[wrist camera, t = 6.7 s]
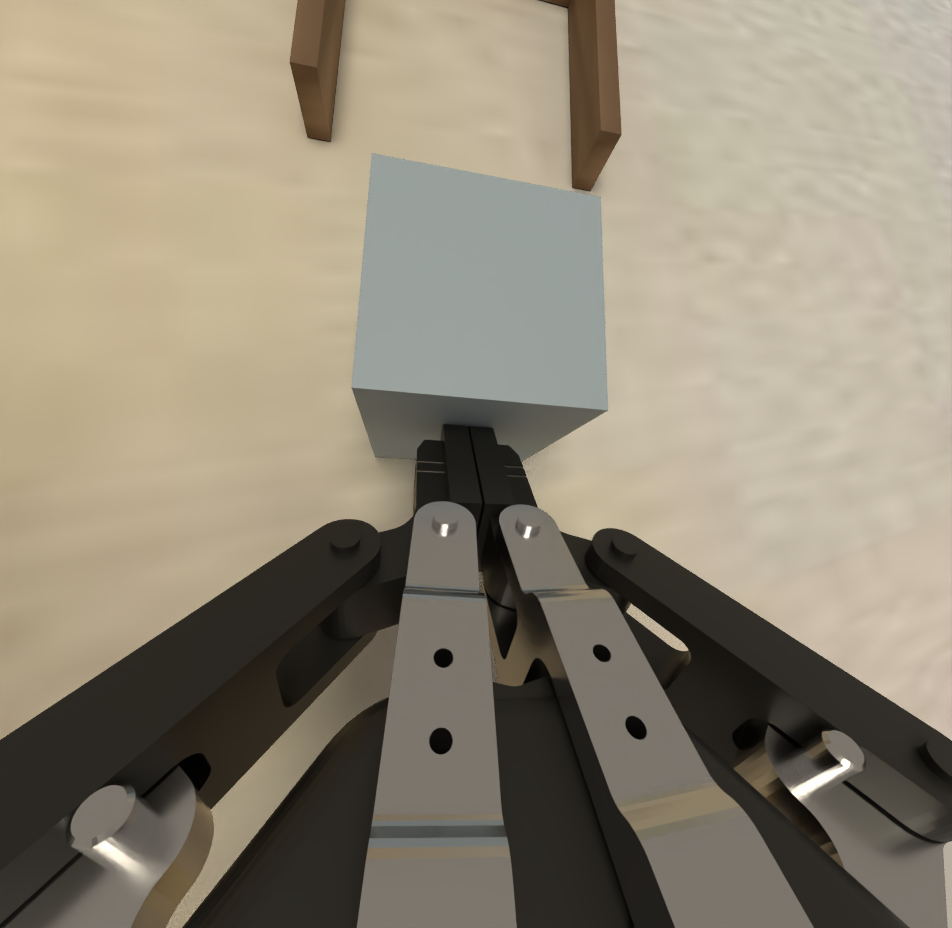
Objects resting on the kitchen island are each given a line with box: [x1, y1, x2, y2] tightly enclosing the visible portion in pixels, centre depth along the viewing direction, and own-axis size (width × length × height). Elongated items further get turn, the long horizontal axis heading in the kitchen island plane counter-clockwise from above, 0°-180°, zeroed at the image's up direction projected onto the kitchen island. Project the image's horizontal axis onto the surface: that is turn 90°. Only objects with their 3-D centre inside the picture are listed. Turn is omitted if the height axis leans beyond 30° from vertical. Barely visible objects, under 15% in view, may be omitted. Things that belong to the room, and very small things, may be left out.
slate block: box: [352, 153, 608, 462], centre depth 13 cm, size 6×6×8 cm
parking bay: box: [290, 0, 621, 191], centre depth 19 cm, size 14×13×3 cm
